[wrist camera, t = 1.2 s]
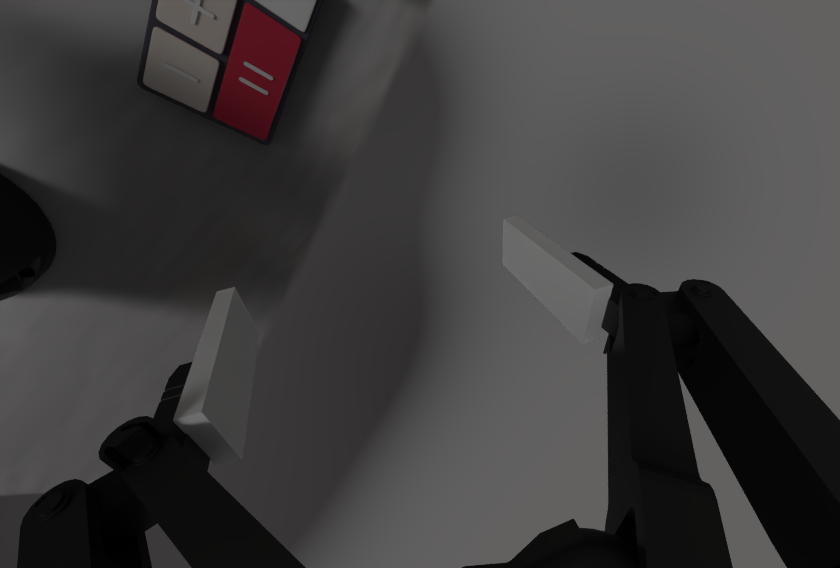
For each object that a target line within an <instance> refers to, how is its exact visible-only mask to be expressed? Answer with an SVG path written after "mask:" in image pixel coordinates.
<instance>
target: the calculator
mask: <svg viewBox="0 0 840 568" xmlns="http://www.w3.org/2000/svg"><path fill="white" fill-rule="evenodd" d="M322 1H323V0H152V4H151V9H150V14H149V20H148V25H147V30H146V35H145V41H144V46H143V51H142V57H141V62H140V67H139V72H138V78H137V83H138V85H139V86H140V87H141V88H143V89H145V90H147V91H149V92H151V93H153V94H156V95H158V96H160V97H162V98H164V99H166V100H169V101H171V102H173V103H175V104H177V105H179V106H181V107H184V108H186V109H188V110H190V111H192V112H194V113H197V114H199V115H201V116H203V117H205V118H207V119H210V120H212V121H214V122H216V123H218V124H220V125H222V126H225V127H227V128H229V129H231V130H233V131H235V132H238V133H240V134H242V135H244V136H246V137H248V138H251V139H253V140H255V141H257V142H259V143H261V144H264V145H269V144H270V143H271V140H272V138H273V135H274V132H275V129H276V127H277V124H278V121H279V118H280V116H281V113H282V110H283V107H284V105H285V102H286V99H287V96H288V94H289V91H290V88H291V86H292V83H293V80H294V77H295V75H296V72H297V69H298V66H299V64H300V61H301V58H302V55H303V53H304V50H305V47H306V44H307V42H308V39H309V36H310V34H311V31H312V28H313V25H314V23H315V20H316V17H317V14H318V12H319V9H320V6H321V3H322Z"/></svg>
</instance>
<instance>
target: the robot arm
mask: <svg viewBox="0 0 840 568" xmlns="http://www.w3.org/2000/svg"><path fill="white" fill-rule="evenodd" d="M55 250H56V242H55V236H54V232H53V230H52V227H51V225H50V223H49V221H48V219H47V218H46V216H45V214H44V213H43V212H42V210H41V209H40V208H39V207H38V205H37V204H36V203H35V202H34V201H33V200H32V199H31V198H30V197H29V196H28V195H27V194H26V193H25V192H24V191H22V190H21V189H20V188H19V187H17V186H16V185H15V184H13V183H12V182H11V181H9V180H8V179H6V178H5V177H3V176H2V175H0V301H1V300H4V299H7V298H9V297H12V296H14V295H16V294H18V293H20V292H22V291H23V290H25V289H27V288H28V287H29V286H31V285H32V284H33V283H34V282H35V281H36V280H37V279H38V278H40V277H41V276H42V275H43V274H44V273H45V272H46V270H47V269H48V268H49V267H50V265H51V263H52V261H53V259H54V256H55ZM502 253H503V254H502V264H503V265H504V266H505V267H506V268H507V269H508V270H509V271H510V272H511V273H512V274H513V275H514V276H515V277H516V278H517V279H518V280H519V281H520V282H521V283H522V284H523V285H524V286H525V287H526V288H527V289H528V290H529V291H530V292H531V293H532V294H533V295H534V296H535V297H536V298H537V299H538V300H539V301H540V302H541V303H542V304H543V305H544V306H545V307H546V308H547V309H548V310H549V311H550V312H551V313H552V314H553V315H554V316H555V317H556V318H557V319H558V320H559V321H560V322H561V323H562V324H563V325H564V326H565V327H566V328H567V329H568V330H569V331H570V332H571V333H572V334H573V335H574V336H575V337H576V338H577V339H578V340H579V341H580V342H581V343H582V344H585V343H588V342H591V341H594V340H597V339H599V335H600V332H601V329H602V328H603V329H604V330H605V331H607V332H608V333H609V335H608V338H607V342H606V345H605V349H604V352H603V353H604V354H606V353H607V384H608V385H607V390H608V391H607V392H608V496H609V497H608V502H609V503H608V512H607V518H606V524H605V531H600V530H596V529H588V528H579V527H578V525H577V524H576V522H575V520H574V519H571V520H569V521H567V522H565V523H562V524H560V525H558V526H556V527H553V528H551V529H549V530H546V531H544V532H542V533H540V534H539V535H538V536H537V537H536V538H534V539H533V540H532V541H531V542H530V543H529V544H528V545H527V546H526V547H525V548H524V549H523V550H522V551H521V552H520V553H518V554H517V555H516V556H515V557H514V558H513V559H512V560H511V561H509V562H507V563H499V564H487V565H475V566H465V567H462V568H733V567H732V563H731V559H730V554H729V550H728V546H727V542H726V537H725V533H724V529H723V524H722V520H721V516H720V511H719V507H718V503H717V499H716V496H715V493H714V490H713V489H712V487H711V486H710V484H708V483H706V482H703V481H702V480H701V478H700V476H699V473H698V468H697V463H696V458H695V453H694V448H693V444H692V438H691V434H690V429H689V424H688V420H687V414H686V410H685V404H684V400H683V395H682V390H681V385H680V380H679V375H678V373H679V374H680V376H681V378H682V380H683V381H684V384H685V385H686V387H687V389H688V391H689V393H690V394H691V396H692V398H693V400H694V402H695V404H696V405H697V407H698V409H699V411H700V413H701V415H702V416H703V418H704V420H705V422H706V424H707V425H708V427H709V429H710V431H711V433H712V435H713V436H714V438H715V440H716V442H717V444H718V445H719V447H720V449H721V451H722V453H723V455H724V456H725V458H726V460H727V462H728V464H729V466H730V467H731V469H732V471H733V473H734V475H735V476H736V478H737V480H738V482H739V484H740V486H741V487H742V489H743V491H744V493H745V495H746V496H747V498H748V500H749V502H750V504H751V506H752V507H753V509H754V511H755V513H756V515H757V516H758V518H759V520H760V522H761V524H762V526H763V527H764V529H765V531H766V533H767V535H768V536H769V538H770V540H771V542H772V544H773V545H774V547H775V549H776V550H777V552H778V554H779V555H780V557H781V559H782V560H783V562H784V563H785V565H786V567H787V568H840V420H839V419H838V418H837V417H836V416H835V415H834V413H833V412H832V411H831V410H830V409H829V408H828V406H826V404H825V403H824V402H823V401H822V400H821V399H820V398H819V396H818V395H817V394H816V393H815V392H814V391H813V390H812V389H811V387H810V386H809V385H808V384H807V383H806V382H805V381H804V380H803V379H802V378H801V376H800V375H799V374H798V373H797V372H796V371H795V370H794V368H793V367H792V366H791V365H790V364H789V363H788V362H787V361H786V360H785V359H784V357H783V356H782V355H781V354H780V353H779V352H778V351H777V350H776V349H775V347H774V346H773V345H772V344H771V343H770V342H769V341H768V339H767V338H766V337H765V336H764V335H763V334H762V333H761V332H760V330H759V329H758V328H757V327H756V326H755V325H754V324H753V323H752V322H751V321H750V319H749V318H748V317H747V316H746V315H745V314H744V313H743V311H742V310H741V309H740V308H739V307H738V306H737V305H736V304H735V302H734V301H733V300H732V299H731V298H730V297H729V296H728V295H727V294H726V292H725V291H724V290H722V289H721V288H720V287H719V286H717V285H715V284H713V283H711V282H708V281H704V280H695V279H693V280H686V281H684V282H682V284H681V286H680V288H679V290H678V291H675V292H659V291H658V290H656V289H655V288H653V287H651V286H648V285H644V284H637V283H635V284H634V283H632V284H628V283H626V282H625V281H623V280H622V279H620V278H619V277H617V276H616V275H615V274H613V273H612V272H610V271H609V270H607V269H606V268H603V266H601V265H600V264H598V263H596V262H595V261H594V260H593V259H591V258H590V257H588V256H586V255H583V254H580V253H577V252H574V253H569V252H568V251H567V250H565V249H564V248H562V247H561V246H559V245H558V244H557V243H555V242H554V241H553V240H551V239H550V238H548V237H547V236H546V235H544V234H543V233H541V232H540V231H538V230H537V229H536V228H534V227H533V226H531V225H530V224H529V223H527V222H526V221H524V220H523V219H522V218H520V217H519V216H518V215H515V216H512V217H508V218H504V219H503V251H502ZM258 338H259V330H258V328H257V326H256V325H255V323H254V321H253V319H252V317H251V316H250V314H249V312H248V310H247V308H246V306H245V305H244V303H243V301H242V299H241V297H240V295H239V294H238V292H237V290H236V288H235V287H232V288H228V289H224V290H220V291H217V292H216V295H215V298H214V300H213V303H212V306H211V309H210V312H209V315H208V318H207V321H206V324H205V327H204V330H203V333H202V336H201V339H200V342H199V345H198V348H197V351H196V354H195V356H194V359H193V362H190V363H187V364H183V365H180V366H179V367H178V368H177V369H176V370H175V372H174V373H173V374H172V375H171V376H170V378H169V380H168V382H167V385H166V387H165V392H164V393H163V395H162V398H161V402H160V403H159V405H158V408H157V410H156V413H155V415H154V418H151V417H148V416H143V417H137V418H134V419H132V420H129V421H127V422H126V423H124V424H122V425H121V426H119V427H118V428H116V429H115V430H114V431H113V432H112V433H111V434H110V435H109V436H108V437H107V438H106V440H105V441H104V442H103V443H102V445H101V448H100V450H99V458H100V460H102V461H103V462H104V463H106V464H107V465H108V466H110V467H111V468H112V469H114V470H113V471H111V472H110V473H108V474H106V475H104V476H103V477H101V478H99V479H97V480H95V481H94V482H92V483H90V484H86V483H85V482H83V481H81V480H77V479H73V480H69V481H65V482H63V483H61V484H59V485H57V486H55V487H53V488H52V489H50V490H49V491H48V492H46V493H45V494H44V495H42V496H41V497H40V498H39V499H38V500H37V501H36V502H35V503H34V504H33V505H32V506H31V507H30V509H29V510H28V512H27V513H26V515H25V516H24V518H23V521H22V524H21V527H20V538H19V551H18V563H17V568H152V566H151V561H150V556H149V551H148V546H147V541H146V536H145V531H146V530H148V529H149V528H151V527H152V526H154V525H155V524H157V523H158V524H159V526H160V527H161V528H162V530H163V531H164V532H165V533H166V535H167V536H168V537H169V539H170V540H171V541H172V542H173V544H174V545H175V546H176V548H177V549H178V550H179V551H180V552H181V554H182V555H183V557H184V558H185V559H186V561H187V562H188V563H189V565H190V566H191V567H192V568H305V567H304V566H303V565H302V564H301V563H300V562H299V561H298V560H297V559H296V558H295V557H294V556H293V555H292V554H291V553H290V552H289V551H288V550H287V549H286V548H285V547H284V546H283V545H282V544H281V543H280V542H279V541H278V540H277V539H276V538H275V537H273V535H272V534H271V533H270V532H268V531H267V530H266V529H265V528H264V527H263V526H262V525H261V524H260V523H259V522H258V521H257V520H256V519H255V518H254V517H253V516H252V515H251V514H250V513H249V512H248V511H247V510H246V509H245V508H244V507H243V506H242V505H241V504H240V503H239V502H238V501H237V500H236V499H235V498H234V497H233V496H232V495H230V493H228V491H227V490H225V489H224V488H223V487H222V486H221V485H220V484H219V483H218V482H217V481H216V480H215V479H214V478H213V477H212V476H211V475H210V474H209V473H208V472H207V471H208V466H209V461H210V460H211V461H212V462H213V463H214V464H215V465H216V466H217V467H218V468H220V467H223V466H226V465H229V464H232V463H234V462H237V461H240V460H242V458H243V451H244V443H245V435H246V428H247V421H248V413H249V406H250V398H251V391H252V383H253V375H254V368H255V361H256V353H257V346H258Z"/></svg>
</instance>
